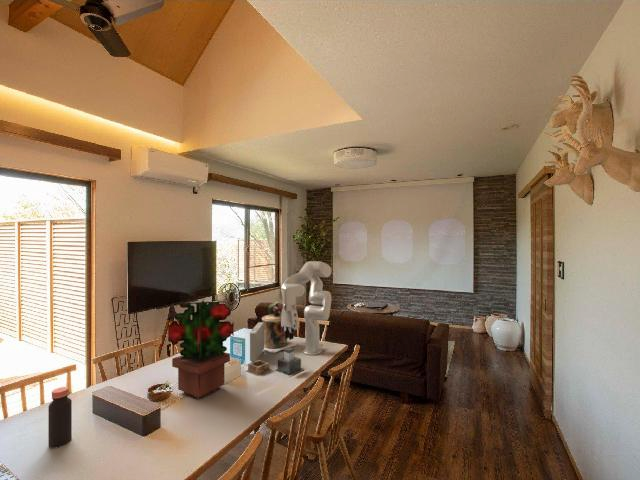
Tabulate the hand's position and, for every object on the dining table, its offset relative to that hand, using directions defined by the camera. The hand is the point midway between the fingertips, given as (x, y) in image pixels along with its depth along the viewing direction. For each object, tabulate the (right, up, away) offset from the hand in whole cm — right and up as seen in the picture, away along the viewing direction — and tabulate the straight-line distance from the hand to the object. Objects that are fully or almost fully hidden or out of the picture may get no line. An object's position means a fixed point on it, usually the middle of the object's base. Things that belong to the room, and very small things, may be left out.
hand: (289, 338), depth 185 cm
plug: (0, -18, 0) cm, 18 cm away
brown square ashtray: (-18, -19, -1) cm, 26 cm away
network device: (-23, -20, +22) cm, 38 cm away
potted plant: (-42, -19, -24) cm, 52 cm away
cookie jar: (-14, -20, +45) cm, 51 cm away
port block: (0, -19, 0) cm, 19 cm away
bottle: (-80, -19, -65) cm, 105 cm away
